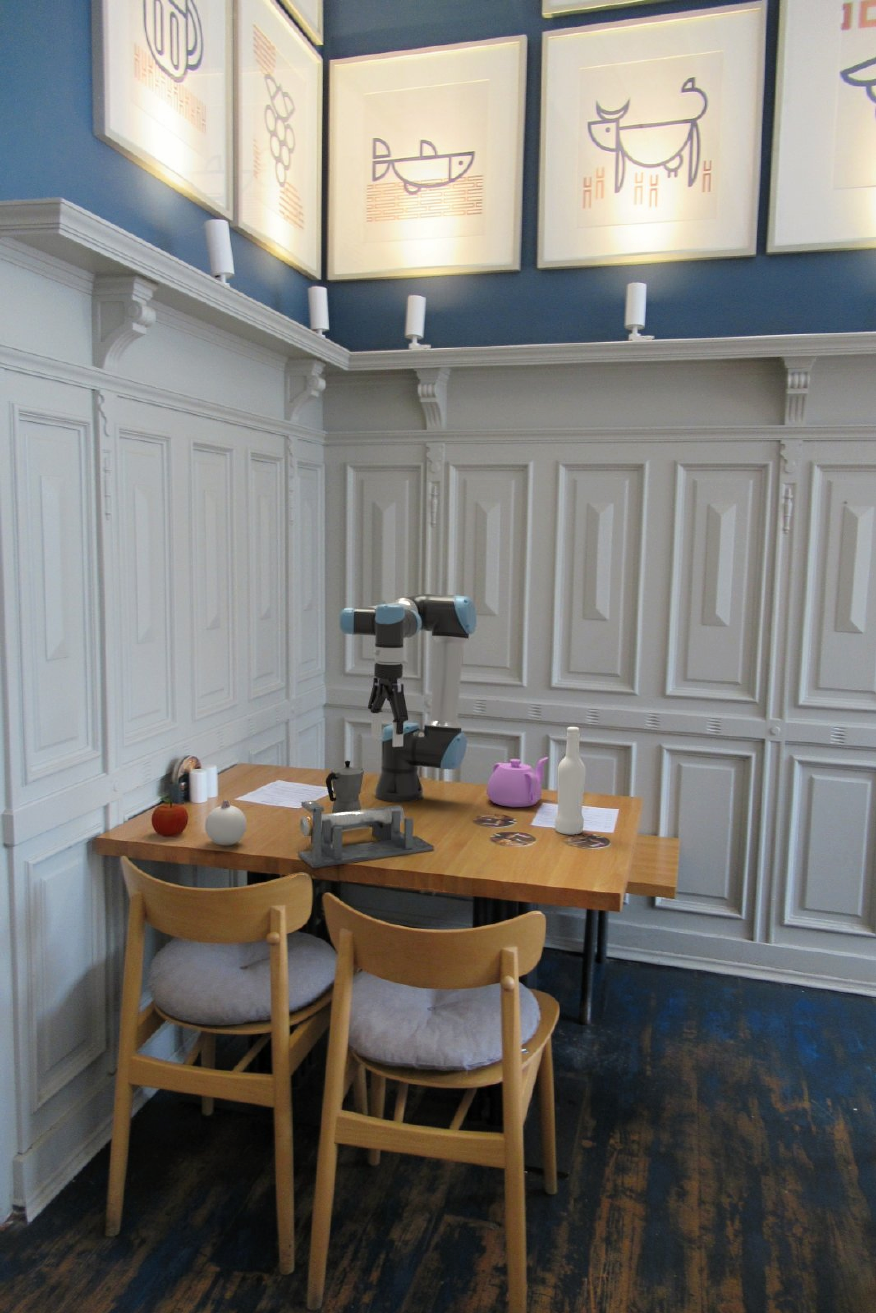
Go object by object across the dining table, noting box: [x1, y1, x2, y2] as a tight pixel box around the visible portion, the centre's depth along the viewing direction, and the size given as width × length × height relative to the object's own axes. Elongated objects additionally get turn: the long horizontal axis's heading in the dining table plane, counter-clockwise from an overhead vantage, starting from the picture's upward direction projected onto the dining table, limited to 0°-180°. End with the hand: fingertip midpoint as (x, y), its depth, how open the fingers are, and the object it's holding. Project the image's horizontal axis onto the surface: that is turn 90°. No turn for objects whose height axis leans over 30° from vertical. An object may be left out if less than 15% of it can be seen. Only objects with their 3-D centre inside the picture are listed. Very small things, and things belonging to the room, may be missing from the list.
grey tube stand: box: [297, 800, 435, 869], centre depth 244 cm, size 35×10×15 cm, turn 120°
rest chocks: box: [310, 822, 392, 846], centre depth 254 cm, size 21×8×5 cm, turn 120°
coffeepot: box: [325, 760, 365, 813], centre depth 271 cm, size 15×9×18 cm, turn 145°
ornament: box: [204, 799, 248, 846], centre depth 249 cm, size 10×10×12 cm
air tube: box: [300, 804, 405, 837], centre depth 254 cm, size 28×5×5 cm, turn 120°
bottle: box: [554, 726, 587, 836], centre depth 269 cm, size 8×8×30 cm
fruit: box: [151, 797, 189, 838], centre depth 256 cm, size 10×10×10 cm
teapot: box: [486, 756, 549, 809], centre depth 300 cm, size 22×22×14 cm
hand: (386, 741), depth 255 cm, fingers open, 13 cm apart
